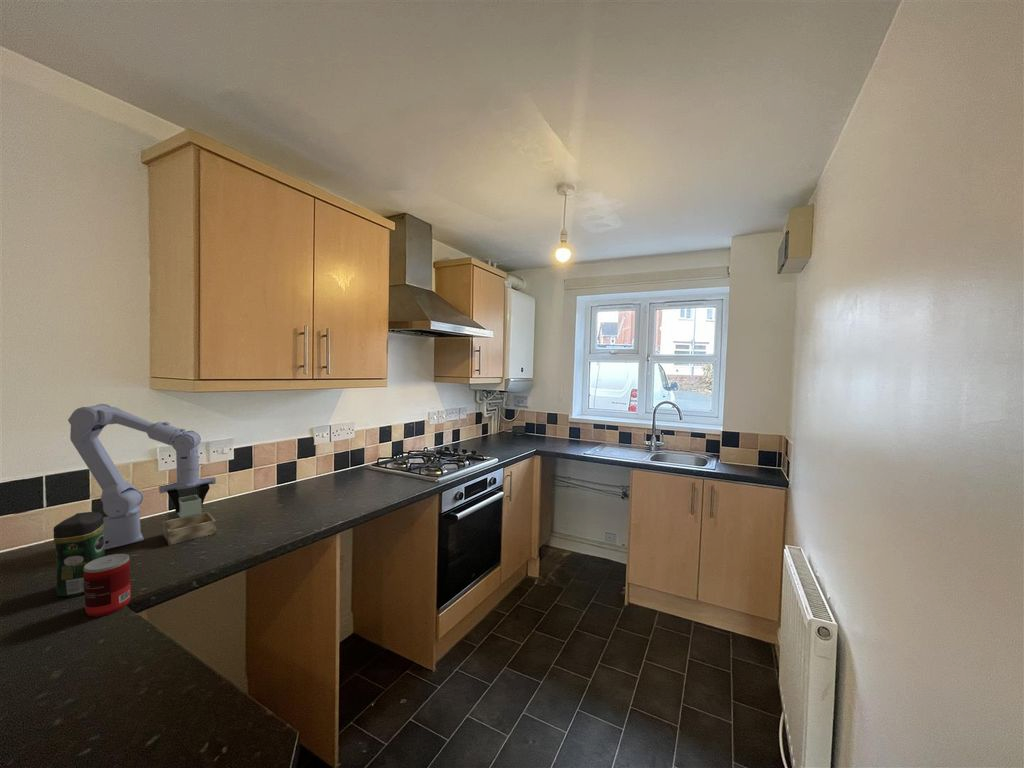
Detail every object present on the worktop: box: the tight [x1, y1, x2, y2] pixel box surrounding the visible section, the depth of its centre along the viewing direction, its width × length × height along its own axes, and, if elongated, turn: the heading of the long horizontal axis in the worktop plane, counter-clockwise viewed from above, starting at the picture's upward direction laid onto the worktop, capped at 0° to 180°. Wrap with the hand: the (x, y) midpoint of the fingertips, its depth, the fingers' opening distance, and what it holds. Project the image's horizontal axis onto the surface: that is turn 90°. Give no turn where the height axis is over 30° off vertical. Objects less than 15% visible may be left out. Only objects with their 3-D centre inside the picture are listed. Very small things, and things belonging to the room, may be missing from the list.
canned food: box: [83, 553, 132, 617], centre depth 96 cm, size 8×8×11 cm
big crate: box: [162, 511, 217, 546], centre depth 136 cm, size 12×11×4 cm
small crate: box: [176, 494, 203, 519], centre depth 135 cm, size 5×7×5 cm
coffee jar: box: [53, 511, 106, 597], centre depth 103 cm, size 10×8×19 cm
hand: (189, 509), depth 135 cm, fingers closed on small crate, 5 cm apart
